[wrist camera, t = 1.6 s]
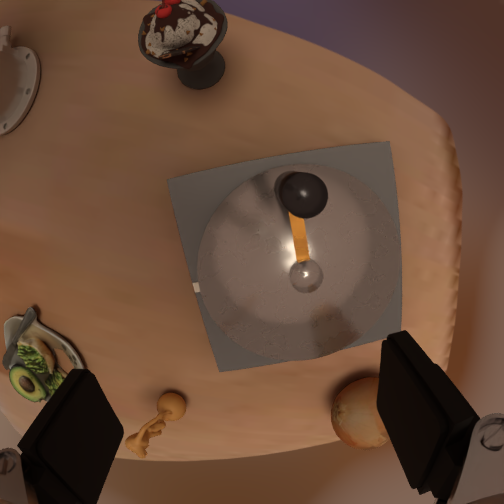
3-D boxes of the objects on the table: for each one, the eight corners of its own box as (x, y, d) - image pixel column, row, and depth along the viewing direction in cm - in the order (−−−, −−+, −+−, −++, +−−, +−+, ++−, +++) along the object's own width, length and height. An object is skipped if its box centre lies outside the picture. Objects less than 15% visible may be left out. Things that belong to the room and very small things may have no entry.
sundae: (193, 31, 25) (157, -48, 11) (245, 58, 26) (243, -19, 12) (156, 79, 27) (91, 24, 12) (208, 108, 28) (173, 60, 13)
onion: (332, 364, 36) (353, 418, 27) (398, 362, 37) (428, 408, 27) (316, 414, 39) (329, 467, 29) (376, 411, 39) (397, 457, 30)
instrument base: (173, 178, 30) (166, 179, 27) (379, 142, 29) (390, 141, 26) (221, 359, 36) (219, 373, 33) (392, 324, 35) (401, 334, 32)
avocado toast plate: (1, 281, 33) (-18, 292, 29) (94, 331, 35) (79, 349, 31) (9, 371, 38) (-3, 385, 34) (89, 416, 40) (79, 434, 36)
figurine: (178, 418, 39) (163, 482, 27) (140, 402, 38) (116, 463, 27) (198, 384, 37) (184, 454, 25) (155, 366, 36) (129, 432, 25)
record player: (178, 187, 27) (149, 197, 19) (383, 151, 26) (430, 149, 18) (225, 366, 33) (220, 419, 25) (394, 330, 32) (427, 372, 24)
